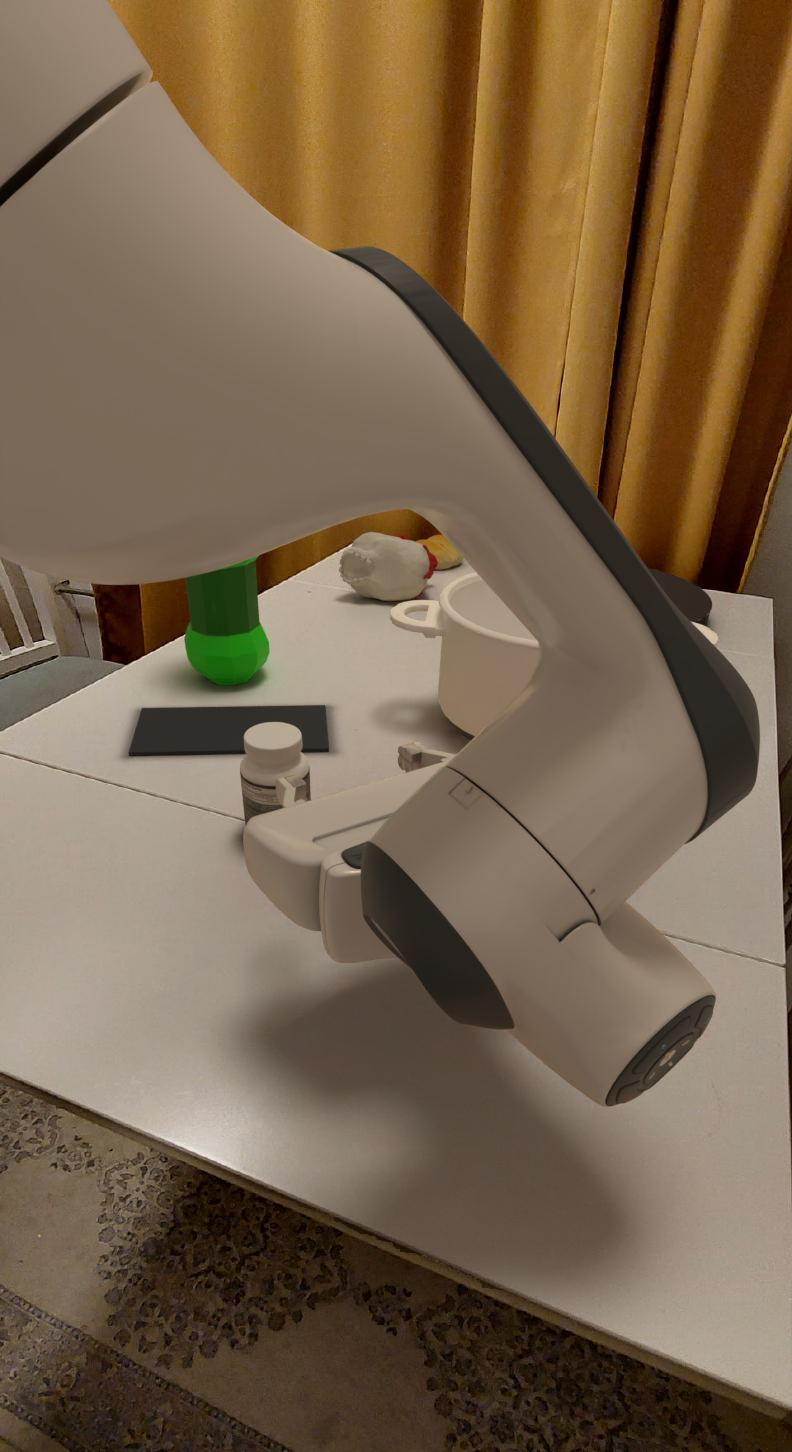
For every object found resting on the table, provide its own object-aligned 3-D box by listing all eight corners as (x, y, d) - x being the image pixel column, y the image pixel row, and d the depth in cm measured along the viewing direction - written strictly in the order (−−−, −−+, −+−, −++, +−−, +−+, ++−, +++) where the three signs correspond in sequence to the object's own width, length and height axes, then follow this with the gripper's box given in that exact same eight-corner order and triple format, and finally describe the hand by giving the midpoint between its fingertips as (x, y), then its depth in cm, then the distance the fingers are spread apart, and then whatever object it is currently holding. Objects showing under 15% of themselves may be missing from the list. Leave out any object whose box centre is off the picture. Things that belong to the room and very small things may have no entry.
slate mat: (128, 755, 84) (128, 752, 83) (142, 711, 91) (141, 707, 91) (329, 751, 86) (329, 748, 85) (325, 708, 94) (325, 704, 93)
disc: (494, 642, 111) (496, 620, 109) (498, 572, 134) (500, 553, 133) (725, 660, 108) (732, 637, 107) (688, 585, 132) (693, 566, 130)
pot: (675, 692, 100) (705, 576, 92) (707, 794, 81) (748, 660, 73) (400, 669, 103) (404, 555, 94) (371, 762, 84) (373, 630, 76)
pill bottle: (284, 810, 77) (278, 711, 71) (325, 837, 73) (323, 736, 67) (233, 834, 73) (222, 732, 67) (273, 863, 70) (266, 759, 64)
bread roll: (397, 561, 137) (398, 536, 135) (436, 552, 142) (437, 527, 140) (432, 574, 132) (434, 548, 130) (471, 564, 137) (473, 538, 135)
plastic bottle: (169, 685, 97) (135, 446, 82) (215, 653, 105) (192, 429, 90) (246, 701, 94) (226, 457, 79) (287, 666, 102) (276, 439, 87)
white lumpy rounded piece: (333, 596, 121) (393, 584, 132) (396, 614, 116) (453, 600, 127) (337, 530, 116) (399, 523, 127) (403, 545, 111) (462, 537, 122)
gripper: (608, 781, 51) (474, 694, 60) (305, 883, 42) (203, 763, 51) (590, 865, 54) (467, 771, 64) (309, 974, 46) (214, 847, 55)
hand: (348, 768), depth 57 cm, fingers open, 8 cm apart
